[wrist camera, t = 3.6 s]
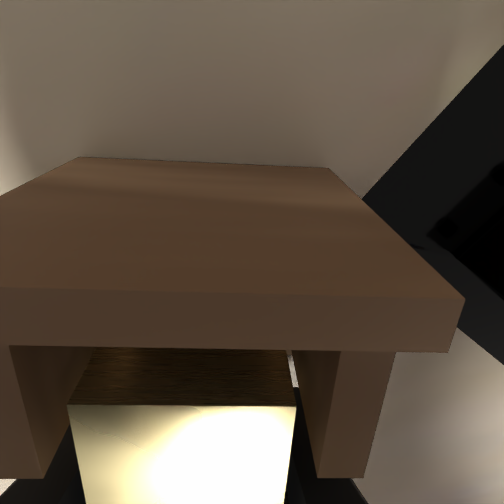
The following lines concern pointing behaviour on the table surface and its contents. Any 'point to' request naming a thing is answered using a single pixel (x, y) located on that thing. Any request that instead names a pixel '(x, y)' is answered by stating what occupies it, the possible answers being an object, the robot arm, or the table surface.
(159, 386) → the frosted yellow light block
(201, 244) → the socket
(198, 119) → the table surface
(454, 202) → the black recessed box
